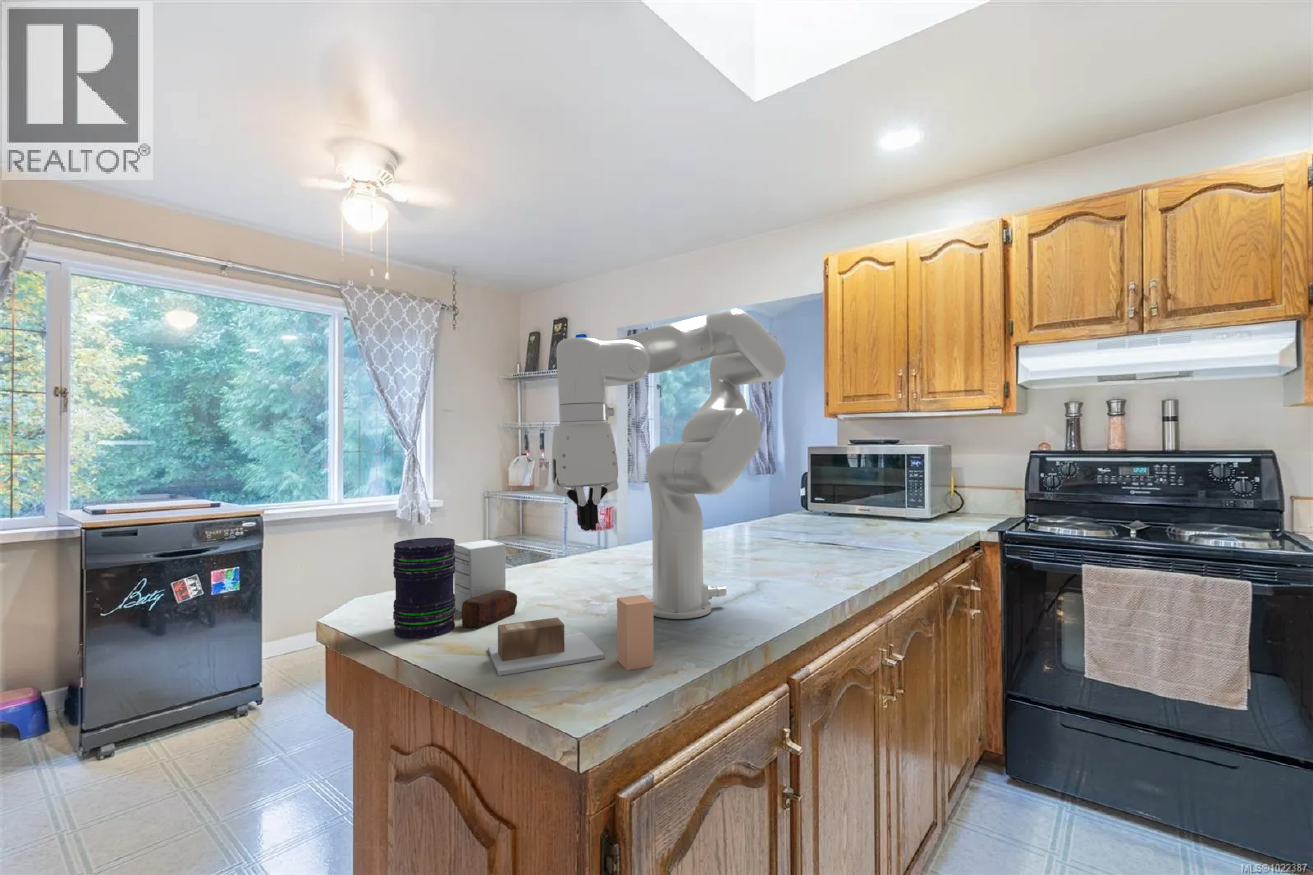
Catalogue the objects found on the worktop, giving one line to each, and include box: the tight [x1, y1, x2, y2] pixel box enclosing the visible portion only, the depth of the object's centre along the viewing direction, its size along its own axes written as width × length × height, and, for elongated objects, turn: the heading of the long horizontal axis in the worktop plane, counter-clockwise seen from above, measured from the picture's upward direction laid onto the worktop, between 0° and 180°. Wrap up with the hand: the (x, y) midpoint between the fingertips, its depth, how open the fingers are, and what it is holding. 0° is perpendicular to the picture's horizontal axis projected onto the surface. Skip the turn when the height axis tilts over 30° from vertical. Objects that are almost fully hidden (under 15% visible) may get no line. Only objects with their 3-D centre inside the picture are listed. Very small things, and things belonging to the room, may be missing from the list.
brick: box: [461, 589, 518, 630], centre depth 103 cm, size 11×4×5 cm, turn 157°
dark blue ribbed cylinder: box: [392, 537, 457, 641], centre depth 97 cm, size 10×10×15 cm
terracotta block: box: [616, 594, 655, 671], centre depth 82 cm, size 4×4×9 cm
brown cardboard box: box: [497, 616, 565, 661], centre depth 85 cm, size 4×4×9 cm
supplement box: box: [453, 539, 507, 613], centre depth 110 cm, size 7×7×13 cm
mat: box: [487, 632, 605, 677], centre depth 85 cm, size 15×11×1 cm
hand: (588, 529), depth 92 cm, fingers closed
